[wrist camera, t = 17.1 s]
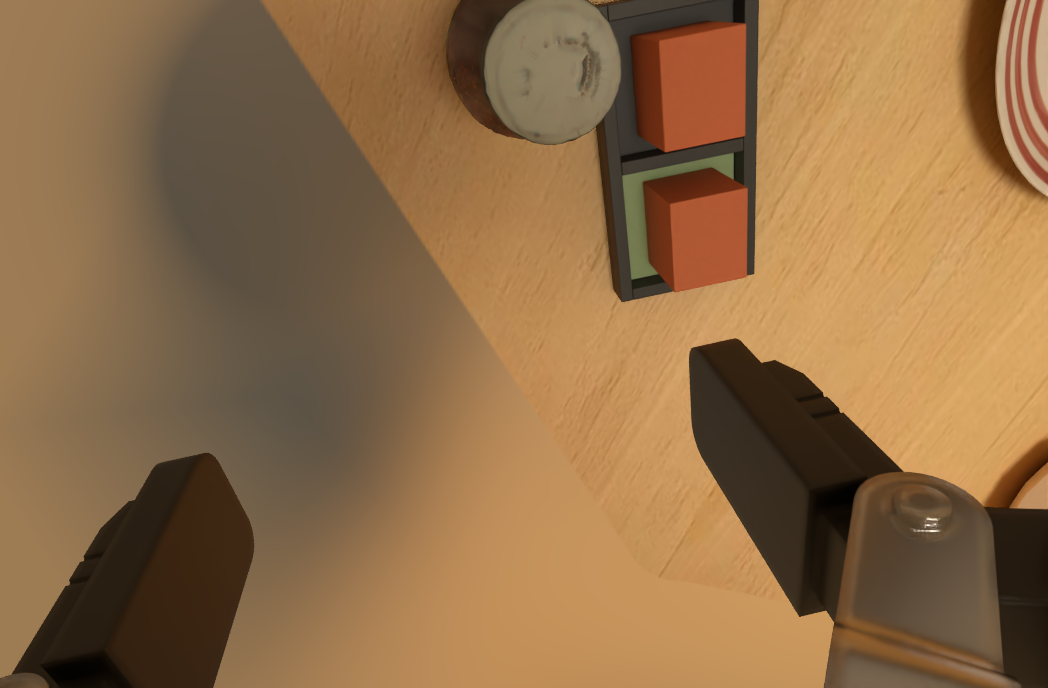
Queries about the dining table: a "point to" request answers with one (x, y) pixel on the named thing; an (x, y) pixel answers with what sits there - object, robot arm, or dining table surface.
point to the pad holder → (634, 160)
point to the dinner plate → (1024, 87)
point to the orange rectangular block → (690, 84)
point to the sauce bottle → (534, 66)
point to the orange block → (696, 228)
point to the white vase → (1034, 492)
